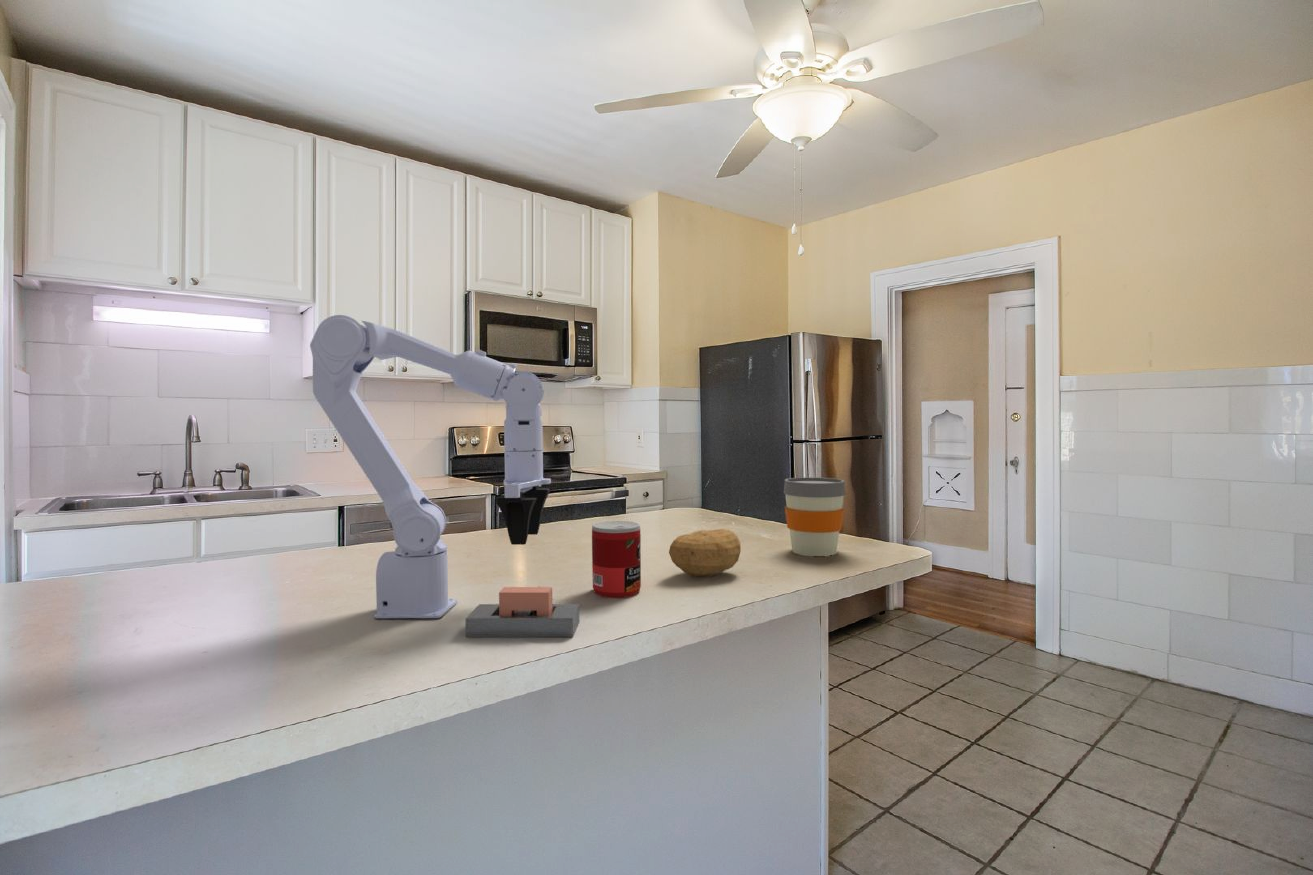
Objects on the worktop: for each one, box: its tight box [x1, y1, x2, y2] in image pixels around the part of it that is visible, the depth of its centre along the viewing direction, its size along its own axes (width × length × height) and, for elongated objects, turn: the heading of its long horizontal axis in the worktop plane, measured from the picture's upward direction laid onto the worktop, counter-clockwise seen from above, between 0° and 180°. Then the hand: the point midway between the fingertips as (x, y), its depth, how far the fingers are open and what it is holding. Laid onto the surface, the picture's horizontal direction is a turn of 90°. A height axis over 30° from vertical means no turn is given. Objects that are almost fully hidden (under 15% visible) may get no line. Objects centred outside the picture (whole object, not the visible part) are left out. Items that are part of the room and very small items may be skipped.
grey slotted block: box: [465, 603, 581, 638], centre depth 84 cm, size 14×6×2 cm, turn 89°
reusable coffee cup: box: [783, 476, 846, 557], centre depth 130 cm, size 13×13×15 cm
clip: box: [498, 586, 553, 616], centre depth 84 cm, size 7×3×5 cm, turn 89°
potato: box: [668, 528, 742, 578], centre depth 111 cm, size 10×14×8 cm
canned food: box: [591, 520, 642, 599], centre depth 101 cm, size 8×8×11 cm
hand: (525, 539), depth 95 cm, fingers open, 7 cm apart
